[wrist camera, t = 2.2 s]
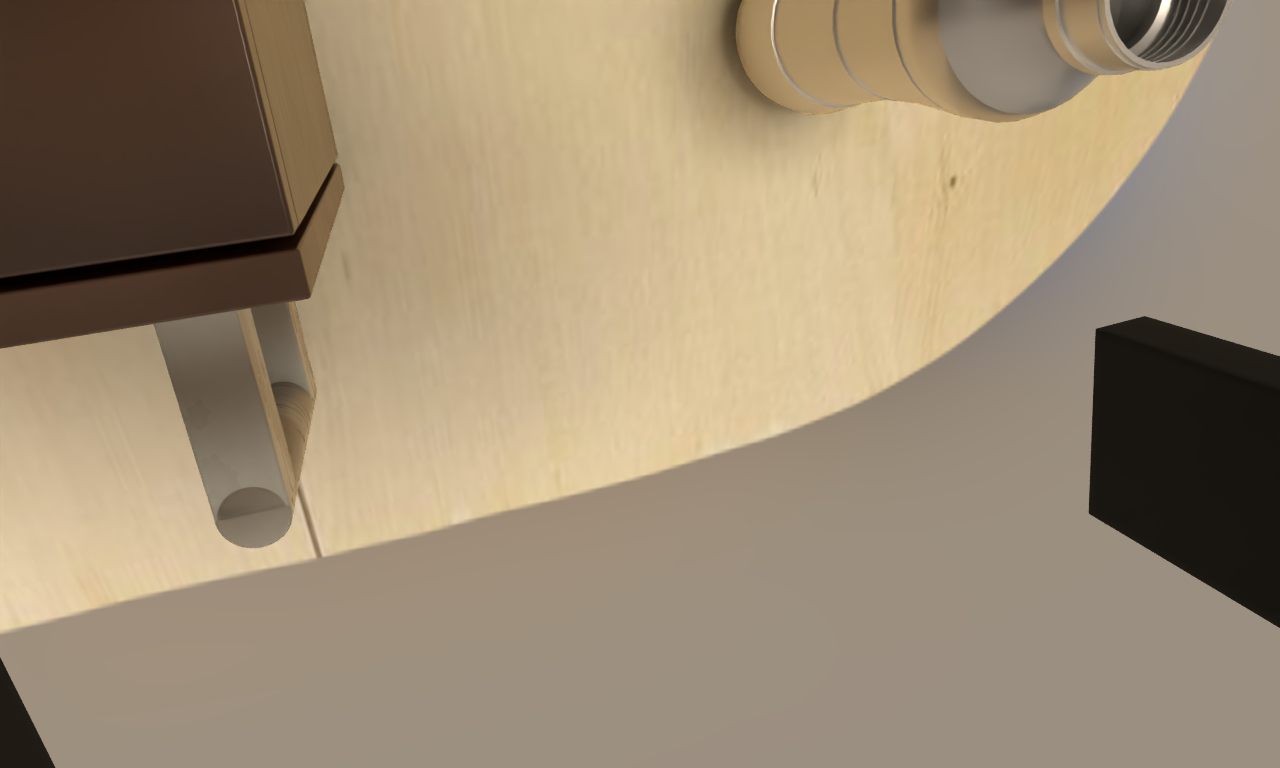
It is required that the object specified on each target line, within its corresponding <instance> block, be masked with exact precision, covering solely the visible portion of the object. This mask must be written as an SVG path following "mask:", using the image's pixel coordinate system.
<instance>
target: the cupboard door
mask: <svg viewBox="0 0 1280 768" xmlns="http://www.w3.org/2000/svg"><path fill="white" fill-rule="evenodd" d="M343 191H344V183H343V178H342V174H341V169H340V165H339V164H333V165H332V167H331V169H330V171H329V172H328V174H327V176H326V178H325V180H324V182H323V183H322V185H321V187H320V189H319V191H318V192H317V194H316V196H315V198H314V200H313V202H312V203H311V205H310V207H309V209H308V211H307V213H306V214H305V216H304V218H303V220H302V222H301V223H300V225H299V227H298V228H297V230H296V231H295V233H294V234H293V235H292V236H289V237H282V238H275V239H268V240H261V241H254V242H248V243H241V244H234V245H227V246H220V247H213V248H206V249H200V250H193V251H186V252H179V253H172V254H165V255H158V256H152V257H145V258H138V259H131V260H124V261H117V262H111V263H104V264H97V265H90V266H83V267H76V268H69V269H63V270H56V271H49V272H42V273H35V274H28V275H21V276H15V277H8V278H1V279H0V349H1V348H7V347H13V346H20V345H26V344H32V343H38V342H44V341H50V340H57V339H63V338H69V337H75V336H81V335H88V334H94V333H100V332H106V331H112V330H119V329H125V328H131V327H137V326H143V325H149V324H154V327H155V330H156V333H157V337H158V340H159V343H160V346H161V349H162V353H163V356H164V359H165V362H166V366H167V369H168V372H169V375H170V378H171V382H172V385H173V388H174V391H175V395H176V398H177V401H178V404H179V407H180V411H181V414H182V417H183V420H184V424H185V427H186V430H187V433H188V436H189V440H190V443H191V446H192V449H193V453H194V456H195V459H196V462H197V465H198V469H199V472H200V475H201V478H202V482H203V485H204V488H205V491H206V494H207V498H208V501H209V504H210V507H211V511H212V514H213V517H214V520H215V524H216V526H217V528H218V530H219V532H220V533H221V534H222V536H223V537H224V538H226V539H227V540H228V541H229V542H231V543H233V544H235V545H238V546H241V547H246V548H260V547H264V546H268V545H270V544H272V543H274V542H276V541H278V540H279V539H280V538H281V537H283V536H284V534H285V533H286V532H287V531H288V529H289V527H290V525H291V521H292V516H293V511H294V506H295V501H296V496H297V491H298V486H299V481H300V475H301V470H302V465H303V460H304V455H305V450H306V445H307V439H308V434H309V429H310V424H311V419H312V414H313V409H314V403H315V398H316V385H315V381H314V377H313V373H312V369H311V365H310V361H309V357H308V353H307V349H306V345H305V341H304V337H303V333H302V329H301V325H300V321H299V317H298V313H297V309H296V305H295V301H298V300H304V299H308V298H310V297H311V294H312V291H313V287H314V284H315V281H316V278H317V275H318V271H319V268H320V265H321V262H322V259H323V255H324V252H325V249H326V246H327V242H328V239H329V236H330V233H331V230H332V226H333V223H334V220H335V217H336V214H337V210H338V207H339V204H340V201H341V197H342V194H343Z"/></svg>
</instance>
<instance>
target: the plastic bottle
mask: <svg viewBox="0 0 1280 768" xmlns="http://www.w3.org/2000/svg"><path fill="white" fill-rule="evenodd" d="M1230 4H1231V0H742V1H741V4H740V7H739V10H738V15H737V22H736V44H737V49H738V53H739V58H740V61H741V63H742V65H743V68H744V70H745V72H746V74H747V75H748V77H749V78H750V80H751V82H752V83H753V84H754V85H755V86H756V87H757V89H758V90H759V91H760V92H761V93H762V94H764V95H765V96H767V97H768V98H770V99H771V100H773V101H774V102H776V103H778V104H780V105H782V106H784V107H786V108H789V109H791V110H794V111H797V112H800V113H806V114H812V115H814V114H828V113H832V112H837V111H841V110H845V109H848V108H851V107H855V106H857V105H860V104H862V103H867V102H874V101H881V100H892V101H902V102H909V103H918V104H921V105H925V106H928V107H932V108H935V109H938V110H942V111H945V112H949V113H952V114H955V115H959V116H961V117H967V118H973V119H979V120H985V121H991V122H997V123H998V122H1012V121H1019V120H1022V119H1025V118H1029V117H1032V116H1035V115H1038V114H1040V113H1043V112H1045V111H1048V110H1051V109H1053V108H1055V107H1057V106H1059V105H1061V104H1063V103H1064V102H1066V101H1068V100H1070V99H1072V98H1073V97H1074V96H1075V95H1077V94H1078V93H1079V92H1080V91H1081V90H1083V89H1084V88H1085V87H1086V86H1087V85H1088V84H1090V83H1091V82H1092V81H1093V80H1094V79H1095V78H1096V77H1097V76H1098V75H1118V74H1125V73H1128V72H1132V71H1135V70H1162V69H1165V68H1170V67H1173V66H1176V65H1180V64H1182V63H1184V62H1186V61H1187V60H1189V59H1191V58H1193V57H1194V56H1195V55H1196V54H1198V53H1199V52H1200V51H1201V50H1203V49H1204V48H1205V47H1206V45H1207V44H1208V43H1209V42H1210V41H1211V40H1212V39H1213V37H1214V36H1215V34H1216V33H1217V31H1218V30H1219V28H1220V26H1221V25H1222V23H1223V21H1224V19H1225V17H1226V14H1227V12H1228V10H1229V7H1230Z"/></svg>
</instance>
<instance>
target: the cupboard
mask: <svg viewBox="0 0 1280 768" xmlns="http://www.w3.org/2000/svg"><path fill="white" fill-rule="evenodd" d="M336 158H337V150H336V145H335V141H334V136H333V132H332V127H331V123H330V118H329V113H328V109H327V104H326V100H325V95H324V91H323V86H322V81H321V77H320V72H319V68H318V63H317V59H316V54H315V49H314V45H313V40H312V36H311V31H310V27H309V22H308V17H307V13H306V8H305V4H304V0H0V279H1V278H8V277H15V276H21V275H28V274H35V273H42V272H49V271H56V270H63V269H69V268H76V267H83V266H90V265H97V264H104V263H111V262H117V261H124V260H131V259H138V258H145V257H152V256H158V255H165V254H172V253H179V252H186V251H193V250H200V249H206V248H213V247H220V246H227V245H234V244H241V243H248V242H254V241H261V240H268V239H275V238H282V237H289V236H292V235H293V234H294V233H295V231H296V230H297V228H298V227H299V225H300V223H301V222H302V220H303V218H304V216H305V214H306V213H307V211H308V209H309V207H310V205H311V203H312V202H313V200H314V198H315V196H316V194H317V192H318V191H319V189H320V187H321V185H322V183H323V182H324V180H325V178H326V176H327V174H328V172H329V171H330V169H331V167H332V165H333V163H334V161H335V160H336Z"/></svg>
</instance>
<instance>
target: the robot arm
mask: <svg viewBox="0 0 1280 768" xmlns="http://www.w3.org/2000/svg"><path fill="white" fill-rule="evenodd" d="M1094 364H1095V365H1094V388H1093V416H1092V442H1091V467H1090V493H1089V514H1090V515H1092V516H1094V517H1095V518H1097V519H1099V520H1100V521H1102V522H1104V523H1105V524H1107V525H1109V526H1110V527H1112V528H1114V529H1115V530H1117V531H1119V532H1121V533H1122V534H1124V535H1126V536H1127V537H1129V538H1131V539H1132V540H1134V541H1136V542H1137V543H1139V544H1141V545H1142V546H1144V547H1146V548H1147V549H1149V550H1151V551H1152V552H1154V553H1156V554H1157V555H1159V556H1161V557H1162V558H1164V559H1166V560H1167V561H1169V562H1171V563H1172V564H1174V565H1176V566H1177V567H1179V568H1181V569H1182V570H1184V571H1186V572H1187V573H1189V574H1191V575H1192V576H1194V577H1196V578H1197V579H1199V580H1201V581H1202V582H1204V583H1206V584H1207V585H1209V586H1211V587H1212V588H1214V589H1216V590H1217V591H1219V592H1221V593H1223V594H1224V595H1226V596H1227V597H1229V598H1231V599H1232V600H1234V601H1236V602H1237V603H1239V604H1241V605H1242V606H1244V607H1246V608H1247V609H1249V610H1251V611H1253V612H1254V613H1256V614H1257V615H1259V616H1261V617H1263V618H1264V619H1266V620H1267V621H1269V622H1271V623H1272V624H1274V625H1276V626H1277V627H1279V628H1280V356H1276V355H1273V354H1270V353H1267V352H1263V351H1260V350H1257V349H1253V348H1250V347H1246V346H1243V345H1240V344H1236V343H1233V342H1230V341H1226V340H1223V339H1219V338H1216V337H1213V336H1210V335H1206V334H1203V333H1199V332H1196V331H1192V330H1189V329H1186V328H1183V327H1179V326H1176V325H1172V324H1169V323H1166V322H1162V321H1159V320H1156V319H1152V318H1149V317H1146V316H1144V317H1140V318H1136V319H1132V320H1128V321H1124V322H1121V323H1117V324H1113V325H1109V326H1105V327H1102V328H1097V329H1096V336H1095V363H1094ZM0 768H55V766H54V764H53V762H52V760H51V758H50V756H49V754H48V752H47V750H46V748H45V746H44V744H43V742H42V740H41V738H40V736H39V734H38V732H37V730H36V728H35V726H34V724H33V722H32V720H31V718H30V716H29V714H28V712H27V710H26V708H25V706H24V704H23V702H22V700H21V698H20V696H19V694H18V692H17V690H16V688H15V686H14V684H13V682H12V680H11V678H10V676H9V674H8V672H7V670H6V668H5V666H4V664H3V662H2V660H1V658H0Z"/></svg>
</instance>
